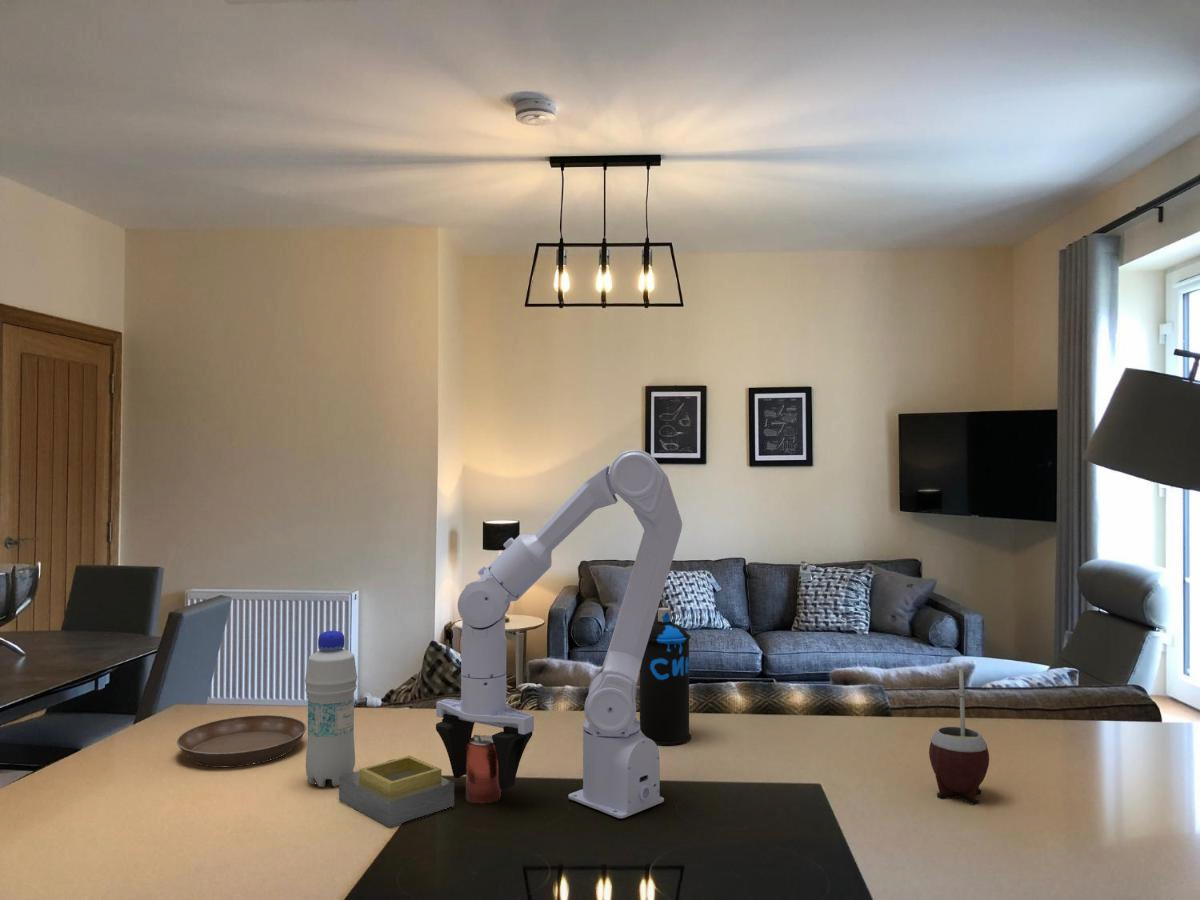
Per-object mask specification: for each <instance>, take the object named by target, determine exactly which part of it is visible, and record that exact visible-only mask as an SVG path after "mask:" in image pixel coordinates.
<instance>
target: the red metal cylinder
mask: <svg viewBox="0 0 1200 900" xmlns="http://www.w3.org/2000/svg"><path fill="white" fill-rule="evenodd" d="M501 792H502V790H501V789H500V787H499V780H498V760H497V754H496V749H495V745H494V742H493V740H492V735H486V734H485V735H481V734H474V735H473V736H471V738H470V740H468V741H467V742H466V775H465V800H466V799H467V800H468V801H470V802H473V803H481V804H480V805H484V804H483V803H489V804H491V803H490V802H493V803H495V802H494V801H496V802H498V801H499V800H501V798H502V793H501ZM500 797H501V798H500ZM498 799H499V800H498ZM467 800H466V801H467ZM497 800H498V801H497ZM468 801H467V802H468ZM470 802H469V803H470ZM473 803H472V804H473Z"/></svg>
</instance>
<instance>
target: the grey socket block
mask: <svg viewBox="0 0 1200 900" xmlns="http://www.w3.org/2000/svg"><path fill="white" fill-rule="evenodd" d="M442 771H443V769H442V768H441V767H437V766H436V765H433V764H430V763H428V762H427V761H426V762H425V761H424V760H421V759H418V758H416V757H414V756H412V755H407V756H403V757H399V758H394V759H389V760H386V761H385V762H380V763H377V764H376V763H375V764H373V765H369V766H366V767H362V768H359V770H357V771H353V773H349V774H346V775H342V776H339V784H338V800H340V802H341V801H342V802H341V803H343V804H345V805H347V806H348V807H350V808H352V809H354V810H355V811H358V812H360V813H361V814H363V815H364V816H366V817H369V818H370V819H372V820H374V821H376V822H378V823H379V824H381V825H383V826H384V827H387V828H388V829H391V828H394V827H397V826H401V825H403V824H402V823H404V822H406V821H408V820H410V819H413V818H417V817H420V816H424V815H427V814H430V813H433V812H437V811H440V810H443V809H446V810H448V809H447V808H449V807H452V808H454V807H455V782H454V781H452V780H450V779H447V778H445V777H442V775H443V774H442ZM453 806H454V807H453ZM449 809H450V808H449ZM443 811H444V810H443ZM440 812H441V811H440ZM437 813H438V812H437ZM404 824H405V823H404Z"/></svg>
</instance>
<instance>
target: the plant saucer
mask: <svg viewBox="0 0 1200 900" xmlns="http://www.w3.org/2000/svg"><path fill="white" fill-rule="evenodd" d="M306 730H307V725H306V723H305V722H304V721H302V720H300V719H297V718H294V717H290V716H284V715H283V716H282V715H267V714H264V715H263V714H262V715H261V714H260V715H245V716H238V717H237V716H236V717H230V718H224V719H220V720H219V719H218V720H215V721H210V722H207V723H204V724H200V725H198V726H195V727H193V728H191V729H189V730H186V731H185V732H183V733H182V734H181V735H179V736H178V738H177V740H176V744H177V746H178V748H179V749H180V751H181V752H182V753H183V754H184V755H185V756H186V757H187V758H188V759H189V760H191V761H192V763H195V764H197V763H198V765H200V764H202V765H201V766H204V765H208V766H207V767H211V766H235V767H240V766H239V765H244V766H248V765H247V764H251V765H254V764H253V763H257V764H259V763H258V762H261V763H264V762H263V761H266V762H268V761H267V760H269V761H271V760H270V759H273V758H275V759H277V758H276V757H278V758H280V757H279V756H281V755H283V754H285V753H286V754H288V753H289V752H291V751H290V750H292V751H293V749H294V748H295V747H296V746H297V744H298V743H299V742H300V741H301V739H302V738H303V736H304V734H305V732H306ZM287 752H288V753H287ZM286 754H285V755H286ZM283 756H284V755H283ZM281 757H282V756H281ZM273 760H274V759H273Z"/></svg>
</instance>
